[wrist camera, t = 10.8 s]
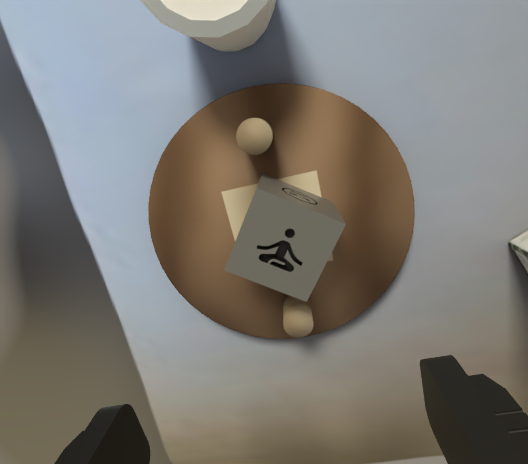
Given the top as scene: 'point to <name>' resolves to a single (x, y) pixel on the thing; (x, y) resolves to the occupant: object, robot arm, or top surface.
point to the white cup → (216, 20)
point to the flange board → (294, 173)
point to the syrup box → (521, 248)
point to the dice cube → (285, 238)
